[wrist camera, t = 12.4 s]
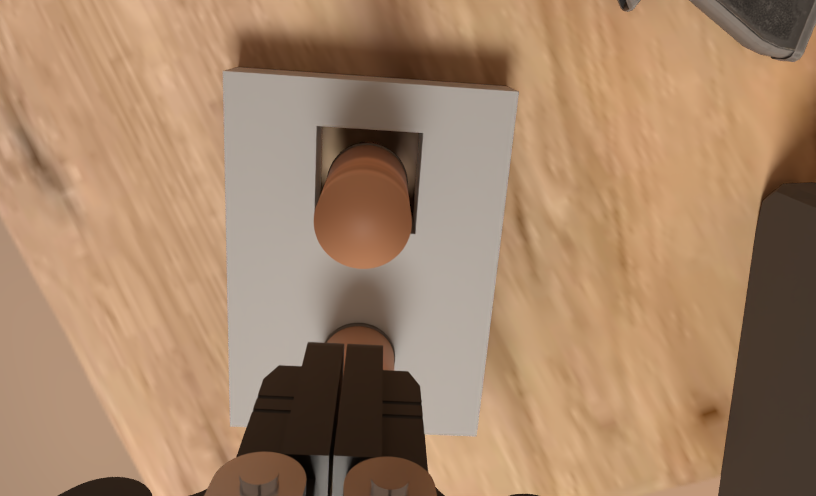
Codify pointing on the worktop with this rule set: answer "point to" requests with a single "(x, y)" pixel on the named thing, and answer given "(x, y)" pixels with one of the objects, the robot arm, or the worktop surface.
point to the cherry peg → (364, 207)
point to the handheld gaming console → (777, 356)
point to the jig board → (376, 287)
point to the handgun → (760, 23)
